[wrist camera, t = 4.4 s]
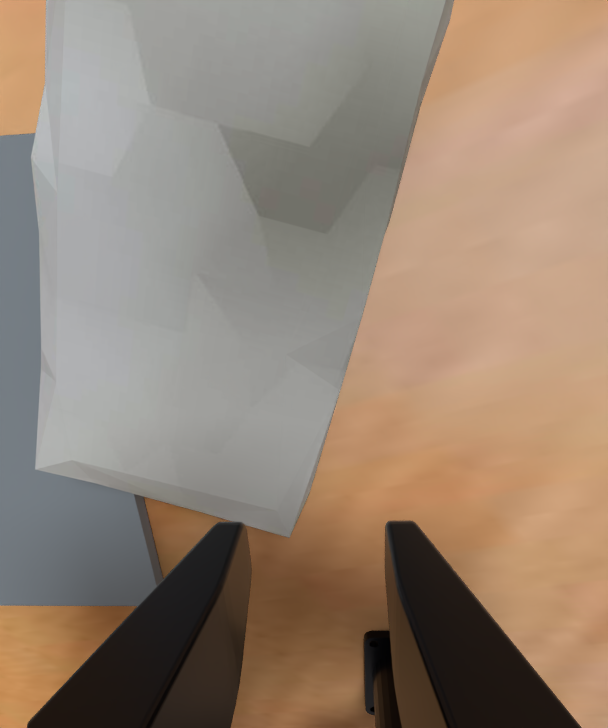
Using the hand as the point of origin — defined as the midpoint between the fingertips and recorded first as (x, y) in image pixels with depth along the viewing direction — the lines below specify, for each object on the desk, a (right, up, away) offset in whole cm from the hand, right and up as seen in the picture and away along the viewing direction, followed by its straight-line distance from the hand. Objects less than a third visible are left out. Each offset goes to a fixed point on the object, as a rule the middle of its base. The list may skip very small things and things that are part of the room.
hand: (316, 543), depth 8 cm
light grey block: (+2, +5, +9) cm, 10 cm away
